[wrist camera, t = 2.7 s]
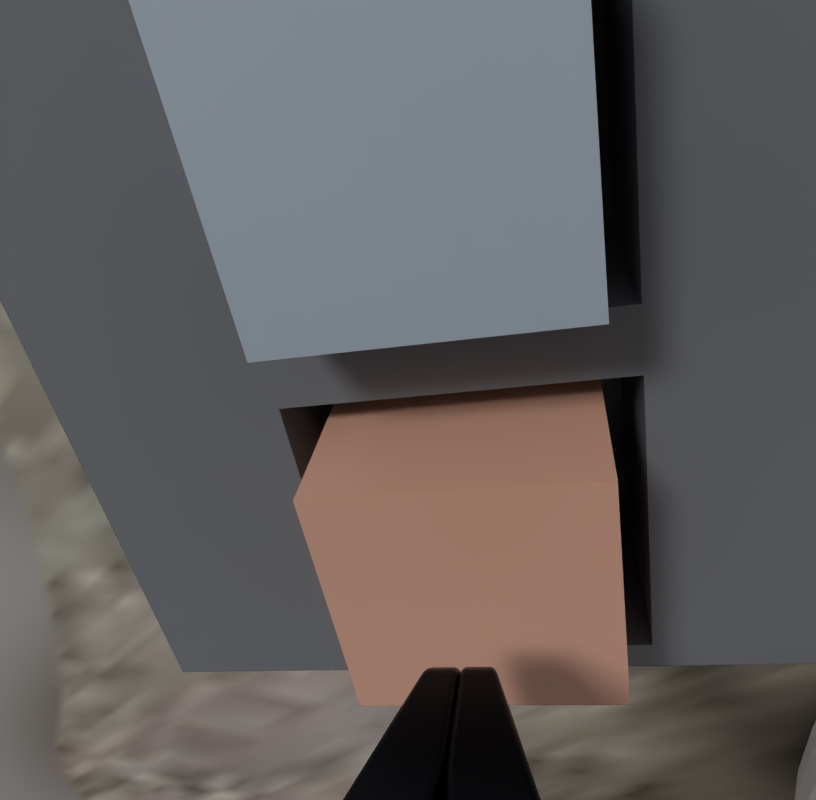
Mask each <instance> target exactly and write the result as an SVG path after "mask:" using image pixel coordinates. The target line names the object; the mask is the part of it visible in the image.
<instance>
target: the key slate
mask: <svg viewBox="0 0 816 800" xmlns="http://www.w3.org/2000/svg"><path fill="white" fill-rule="evenodd" d="M128 1H129V4H130V7H131V10H132V13H133V16H134V19H135V22H136V25H137V28H138V31H139V34H140V37H141V40H142V43H143V46H144V49H145V52H146V55H147V58H148V61H149V65H150V68H151V71H152V74H153V77H154V80H155V83H156V86H157V89H158V92H159V95H160V98H161V101H162V104H163V107H164V110H165V113H166V116H167V119H168V122H169V125H170V128H171V131H172V134H173V138H174V141H175V144H176V147H177V150H178V153H179V156H180V159H181V162H182V165H183V168H184V171H185V174H186V177H187V180H188V183H189V186H190V189H191V192H192V195H193V198H194V201H195V204H196V207H197V211H198V214H199V217H200V220H201V223H202V226H203V229H204V232H205V235H206V238H207V241H208V244H209V247H210V250H211V253H212V256H213V259H214V262H215V265H216V268H217V271H218V274H219V277H220V280H221V284H222V287H223V290H224V293H225V296H226V299H227V302H228V305H229V308H230V311H231V314H232V317H233V320H234V323H235V326H236V329H237V332H238V335H239V338H240V341H241V344H242V347H243V350H244V354H245V357H246V360H247V363H250V362H259V361H269V360H278V359H287V358H297V357H306V356H315V355H325V354H334V353H344V352H353V351H362V350H372V349H381V348H390V347H400V346H409V345H418V344H428V343H437V342H446V341H456V340H465V339H475V338H484V337H493V336H503V335H512V334H521V333H531V332H540V331H549V330H559V329H568V328H577V327H587V326H596V325H606V324H609V314H608V296H607V278H606V260H605V242H604V224H603V206H602V188H601V170H600V152H599V134H598V116H597V98H596V80H595V62H594V44H593V26H592V8H591V0H128Z"/></svg>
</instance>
